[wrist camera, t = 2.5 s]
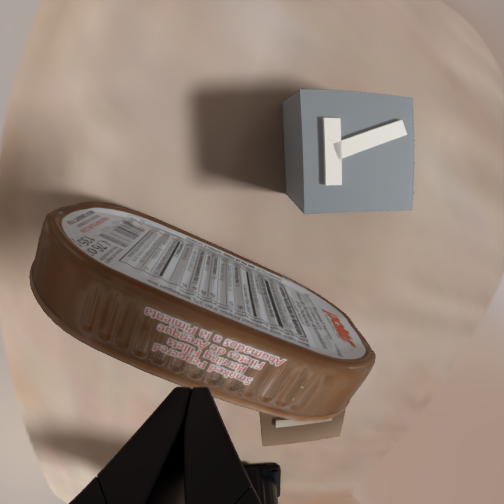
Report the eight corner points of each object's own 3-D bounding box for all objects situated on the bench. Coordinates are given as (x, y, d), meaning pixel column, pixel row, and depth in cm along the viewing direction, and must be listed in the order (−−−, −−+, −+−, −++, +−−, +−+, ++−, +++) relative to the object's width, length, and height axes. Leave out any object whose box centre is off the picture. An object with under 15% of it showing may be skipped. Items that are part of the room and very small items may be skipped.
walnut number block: (323, 387, 20) (340, 438, 16) (257, 394, 20) (262, 448, 16) (328, 334, 19) (351, 385, 14) (254, 341, 19) (259, 396, 14)
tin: (81, 232, 16) (-14, 303, 8) (97, 179, 15) (-8, 219, 7) (321, 335, 19) (364, 444, 11) (349, 292, 18) (414, 392, 10)
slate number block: (370, 191, 16) (414, 211, 11) (285, 193, 16) (305, 215, 11) (368, 105, 14) (415, 97, 10) (281, 103, 14) (301, 88, 10)
